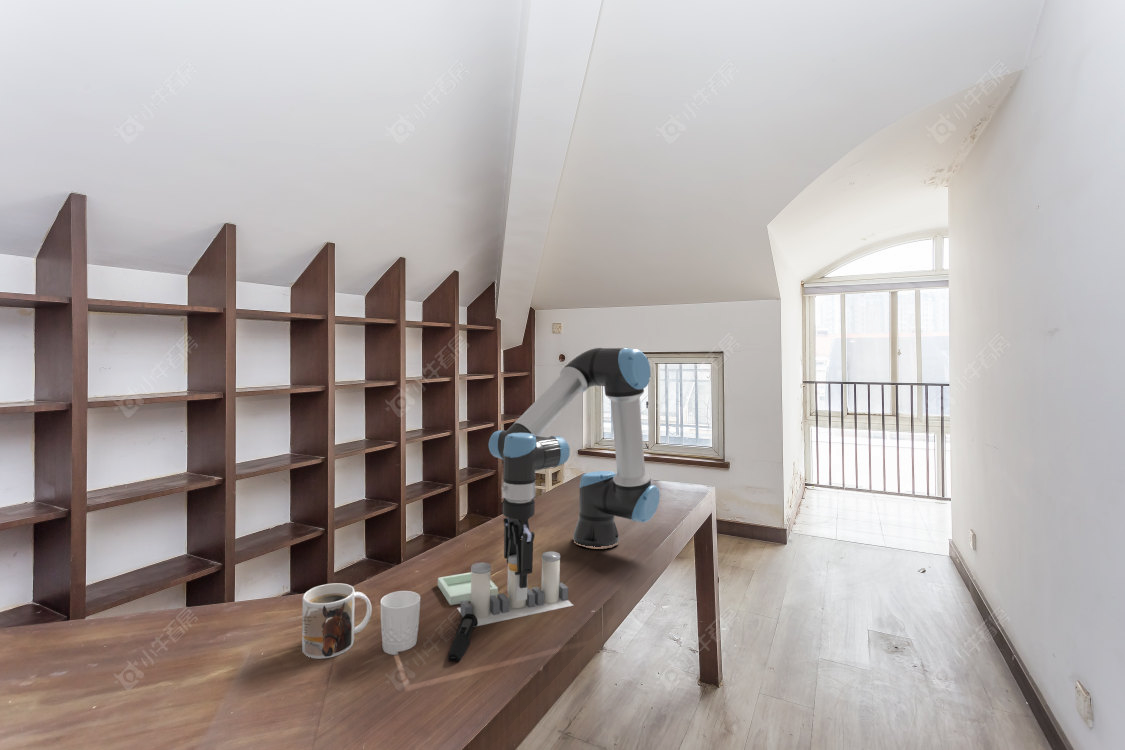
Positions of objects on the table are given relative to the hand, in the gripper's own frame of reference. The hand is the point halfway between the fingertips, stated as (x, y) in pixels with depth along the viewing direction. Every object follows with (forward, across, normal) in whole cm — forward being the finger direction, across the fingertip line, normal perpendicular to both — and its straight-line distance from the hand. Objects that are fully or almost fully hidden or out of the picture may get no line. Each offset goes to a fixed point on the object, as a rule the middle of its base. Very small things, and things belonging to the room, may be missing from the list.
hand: (517, 595), depth 129 cm
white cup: (+3, +5, -28) cm, 29 cm away
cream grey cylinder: (+3, 0, +9) cm, 9 cm away
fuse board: (+3, 0, 0) cm, 3 cm away
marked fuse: (+2, 0, 0) cm, 2 cm away
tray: (+3, -13, -8) cm, 16 cm away
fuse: (+3, 0, -9) cm, 10 cm away
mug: (+3, -1, -40) cm, 40 cm away
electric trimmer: (+3, +10, -16) cm, 19 cm away
